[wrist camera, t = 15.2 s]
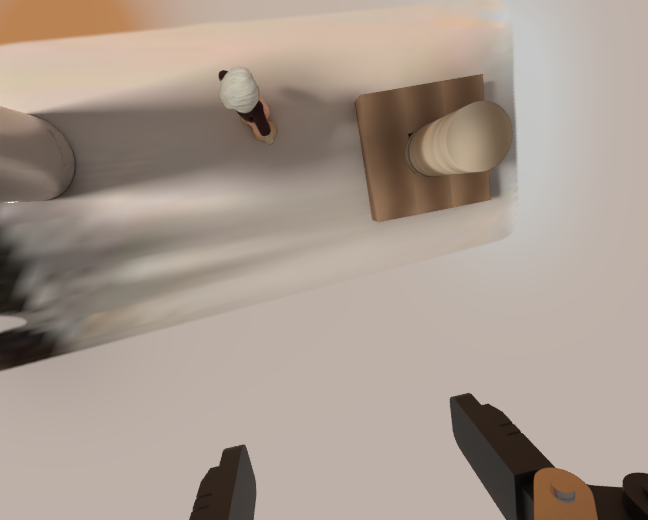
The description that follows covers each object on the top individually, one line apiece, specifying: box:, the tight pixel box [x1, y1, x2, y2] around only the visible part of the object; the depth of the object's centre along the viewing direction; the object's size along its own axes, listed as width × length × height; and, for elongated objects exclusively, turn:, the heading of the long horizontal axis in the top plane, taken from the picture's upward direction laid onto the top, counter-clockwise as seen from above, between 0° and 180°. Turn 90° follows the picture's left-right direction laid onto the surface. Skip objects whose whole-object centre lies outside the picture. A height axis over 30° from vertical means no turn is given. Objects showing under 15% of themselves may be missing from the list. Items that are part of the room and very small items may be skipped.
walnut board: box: [355, 74, 491, 222], centre depth 39 cm, size 14×14×3 cm
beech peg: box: [405, 101, 513, 177], centre depth 33 cm, size 6×6×13 cm
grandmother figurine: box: [219, 67, 277, 144], centre depth 31 cm, size 8×4×13 cm, turn 47°
